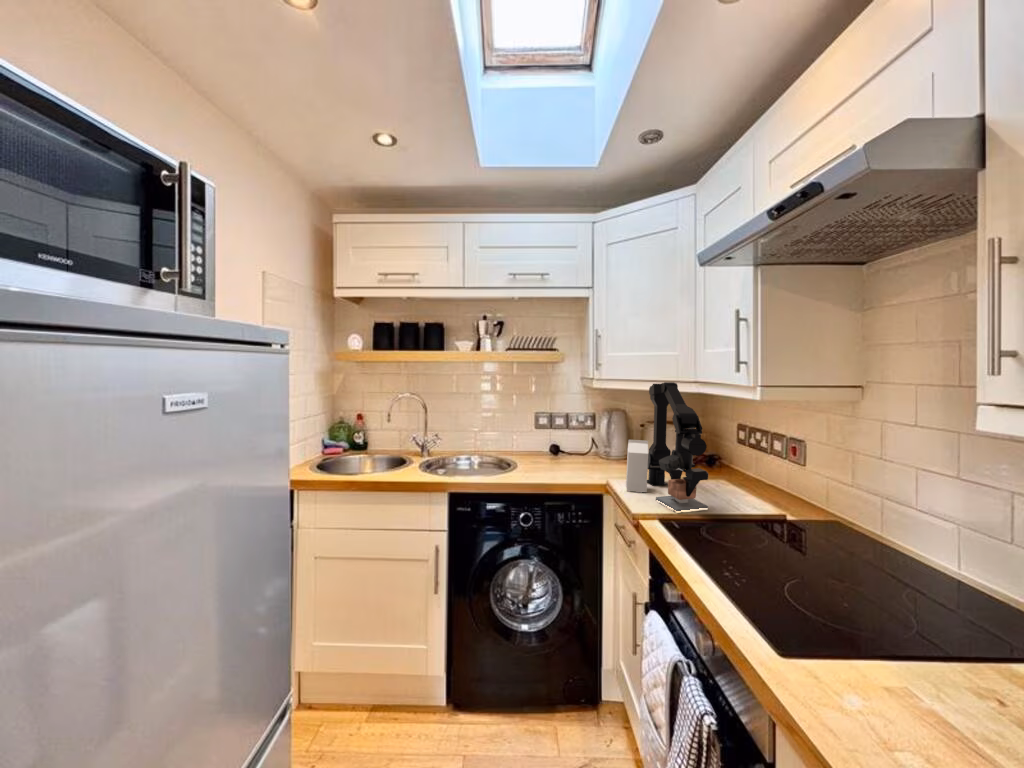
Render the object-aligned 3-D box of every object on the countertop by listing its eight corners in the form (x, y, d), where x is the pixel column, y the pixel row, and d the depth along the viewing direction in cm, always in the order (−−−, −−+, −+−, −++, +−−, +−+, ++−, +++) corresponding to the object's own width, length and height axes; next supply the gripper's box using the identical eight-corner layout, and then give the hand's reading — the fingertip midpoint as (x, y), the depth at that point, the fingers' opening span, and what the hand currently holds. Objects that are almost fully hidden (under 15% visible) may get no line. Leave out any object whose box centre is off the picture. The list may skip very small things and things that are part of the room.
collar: (667, 493, 159) (668, 479, 159) (683, 492, 161) (684, 478, 161) (679, 499, 153) (680, 485, 153) (695, 498, 155) (696, 483, 155)
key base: (655, 501, 162) (656, 484, 161) (684, 498, 165) (685, 482, 164) (676, 513, 150) (677, 495, 150) (707, 510, 153) (708, 492, 153)
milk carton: (646, 493, 170) (648, 442, 168) (626, 491, 171) (628, 441, 169) (644, 487, 177) (647, 438, 175) (625, 485, 178) (628, 437, 176)
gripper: (647, 443, 162) (645, 486, 164) (681, 456, 145) (678, 504, 146) (675, 442, 165) (672, 484, 167) (710, 454, 148) (707, 501, 149)
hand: (681, 493), depth 157 cm, fingers closed on collar, 6 cm apart
